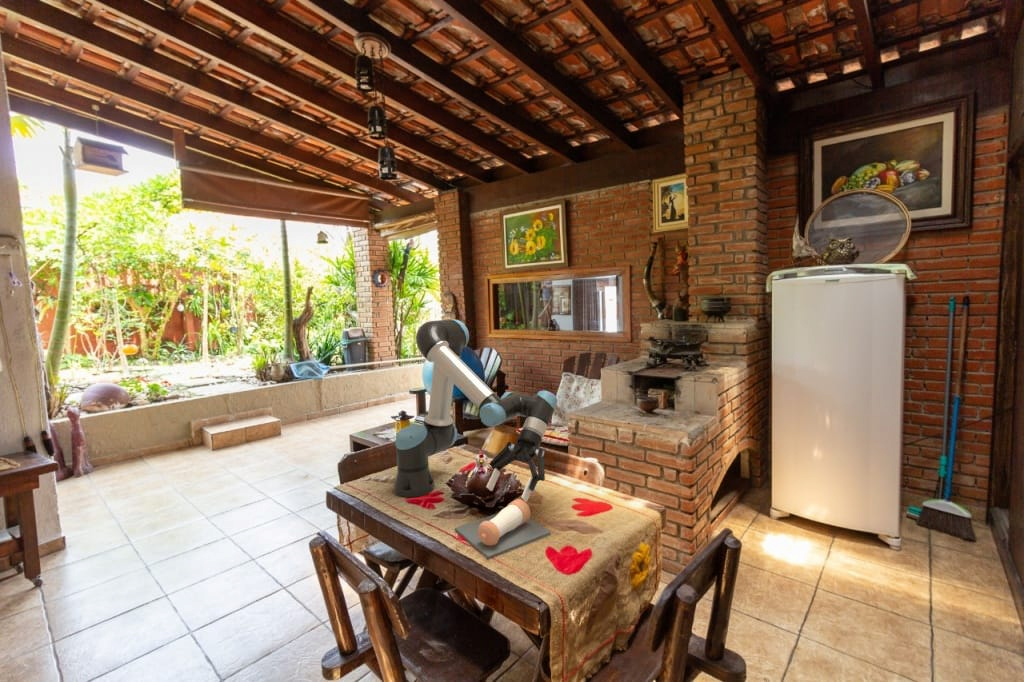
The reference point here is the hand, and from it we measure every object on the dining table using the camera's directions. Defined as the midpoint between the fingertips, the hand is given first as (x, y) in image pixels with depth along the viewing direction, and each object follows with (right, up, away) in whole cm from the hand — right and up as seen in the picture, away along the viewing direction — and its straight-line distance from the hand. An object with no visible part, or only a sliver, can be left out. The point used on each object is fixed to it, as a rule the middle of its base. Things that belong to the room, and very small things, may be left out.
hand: (506, 494), depth 141 cm
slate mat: (-1, -11, -1) cm, 11 cm away
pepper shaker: (+5, -6, +4) cm, 9 cm away
